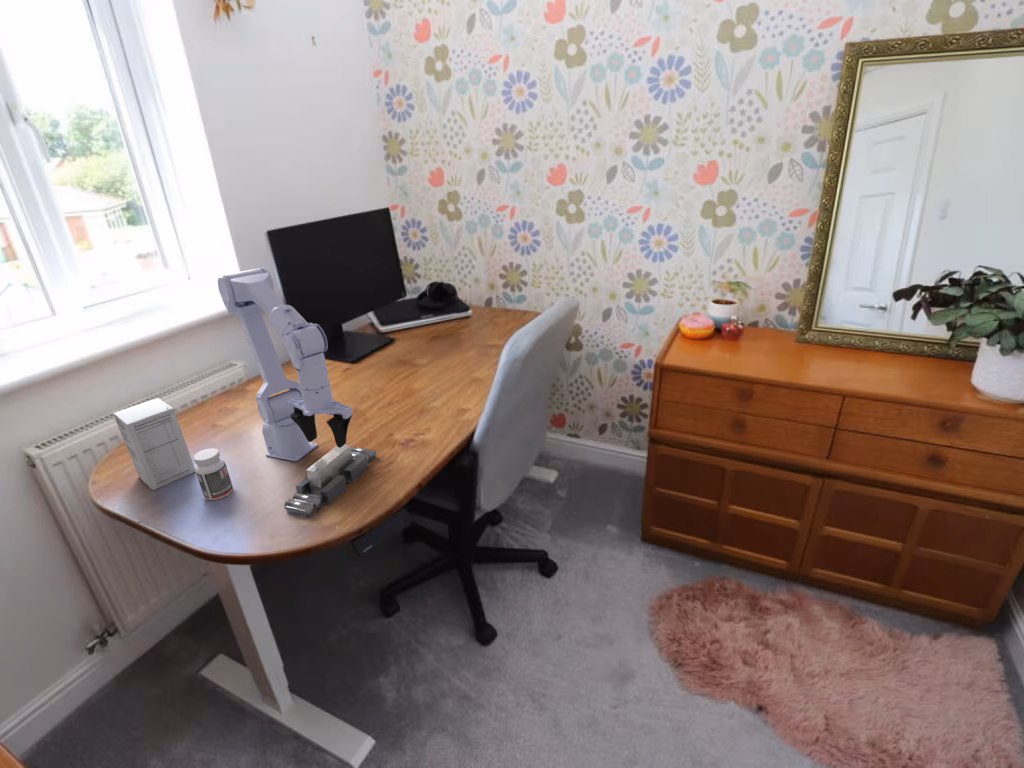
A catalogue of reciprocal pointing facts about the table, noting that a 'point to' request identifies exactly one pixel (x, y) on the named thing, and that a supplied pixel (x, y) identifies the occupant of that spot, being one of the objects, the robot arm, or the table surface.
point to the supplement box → (155, 442)
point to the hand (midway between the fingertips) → (327, 442)
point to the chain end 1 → (314, 496)
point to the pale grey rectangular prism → (329, 467)
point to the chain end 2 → (358, 463)
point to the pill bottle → (212, 474)
